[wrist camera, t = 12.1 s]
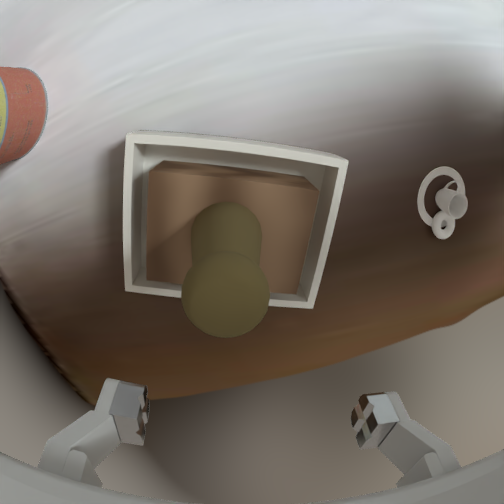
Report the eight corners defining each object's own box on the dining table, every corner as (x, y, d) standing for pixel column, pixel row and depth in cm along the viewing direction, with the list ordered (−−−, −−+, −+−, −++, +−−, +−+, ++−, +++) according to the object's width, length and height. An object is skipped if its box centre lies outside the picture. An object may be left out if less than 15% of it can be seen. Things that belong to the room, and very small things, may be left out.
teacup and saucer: (443, 239, 37) (460, 252, 34) (402, 218, 36) (419, 231, 32) (470, 181, 34) (490, 190, 30) (431, 154, 32) (451, 160, 29)
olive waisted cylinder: (250, 274, 29) (261, 360, 19) (183, 259, 28) (162, 341, 18) (271, 212, 27) (297, 277, 17) (200, 193, 26) (181, 249, 16)
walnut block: (303, 176, 32) (319, 191, 26) (286, 265, 36) (296, 294, 30) (163, 160, 30) (149, 171, 24) (158, 252, 34) (146, 280, 28)
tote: (332, 153, 32) (348, 160, 27) (303, 284, 38) (312, 308, 33) (141, 130, 29) (126, 133, 25) (136, 268, 36) (125, 291, 31)
